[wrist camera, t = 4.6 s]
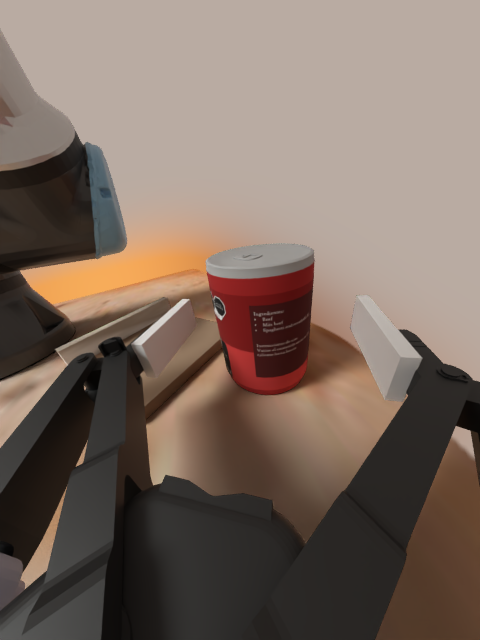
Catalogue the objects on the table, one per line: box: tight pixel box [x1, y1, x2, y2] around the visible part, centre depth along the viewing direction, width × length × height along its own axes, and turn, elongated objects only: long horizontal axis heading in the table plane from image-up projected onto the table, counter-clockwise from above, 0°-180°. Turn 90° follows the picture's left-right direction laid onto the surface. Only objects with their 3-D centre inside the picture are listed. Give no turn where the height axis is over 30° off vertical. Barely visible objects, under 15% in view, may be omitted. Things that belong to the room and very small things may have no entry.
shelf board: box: [55, 297, 222, 419], centre depth 23 cm, size 13×14×4 cm
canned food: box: [206, 244, 314, 395], centre depth 17 cm, size 8×8×11 cm
